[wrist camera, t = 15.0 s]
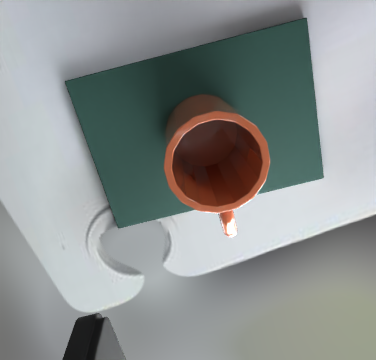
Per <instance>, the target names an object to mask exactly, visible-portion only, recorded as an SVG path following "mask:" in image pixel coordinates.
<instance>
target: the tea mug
mask: <svg viewBox="0 0 376 360" xmlns="http://www.w3.org/2000/svg"><path fill="white" fill-rule="evenodd" d="M269 165H270V156H269V150H268V144H267V141H266V140H265V138H264V137H263V135H262V134H261V132H260V131H259V129H258V128H257V126H256V125H255V124H254V123H253V122H251V121H250V120H249V119H248V118H247V117H245V116H244V115H243V114H242V113H241V112H239V111H238V110H237V109H236V108H235V107H233V106H232V105H231V104H229V103H228V102H226V101H225V100H223V99H221V98H220V97H216V96H213V95H206V94H203V95H195V96H192V97H189V98H187V99H185V100H184V101H182V102H181V103H179V104H178V105H177V106H176V107H175V108H174V110H173V111H172V113H171V114H170V116H169V118H168V120H167V123H166V131H165V144H164V172H165V175H166V179H167V182H168V186H169V188H170V189H171V190H172V191H173V193H174V194H175V195H176V196H177V197H178V199H179V200H180V201H181V202H182V203H184V204H186V205H188V206H190V207H192V208H194V209H195V210H197V211H202V212H211V213H218V215H219V218H220V221H221V225H222V228H223V231H224V234H225V235H226V236H228V237H233V236H235V235H236V233H237V226H236V222H235V217H234V212H233V210H234V209H237V208H239V207H240V206H242V205H243V204H245V203H246V202H248V201H249V200H251V199H252V198H254V197H255V195H256V194H257V192H258V191H259V190H260V188H261V187H262V185H263V184H264V183H265V181H266V178H267V173H268V169H269Z"/></svg>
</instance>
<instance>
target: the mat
mask: <svg viewBox="0 0 376 360" xmlns="http://www.w3.org/2000/svg"><path fill="white" fill-rule="evenodd" d="M65 84H66V86H67V89H68V92H69V95H70V97H71V100H72V103H73V106H74V108H75V111H76V114H77V116H78V119H79V122H80V125H81V127H82V130H83V133H84V136H85V138H86V141H87V144H88V147H89V149H90V152H91V155H92V158H93V160H94V163H95V166H96V169H97V171H98V174H99V177H100V180H101V182H102V185H103V188H104V191H105V193H106V196H107V199H108V202H109V204H110V207H111V210H112V212H113V215H114V218H115V221H116V223H117V226H118V228H123V227H127V226H131V225H135V224H139V223H143V222H147V221H151V220H155V219H159V218H163V217H167V216H171V215H175V214H180V213H184V212H188V211H192V210H195V209H194V208H192V207H190V206H188V205H186V204H184V203H182V202H181V201H180V200H179V199H178V197H177V196H176V195H175V194H174V193H173V191H172V190H171V189H170V188H169V186H168V182H167V179H166V175H165V172H164V144H165V131H166V123H167V120H168V118H169V116H170V114H171V113H172V111H173V110H174V108H175V107H176V106H177V105H178V104H179V103H181V102H182V101H184V100H185V99H187V98H189V97H192V96H195V95H203V94H206V95H213V96H216V97H220V98H221V99H223V100H225V101H226V102H228V103H229V104H231V105H232V106H233V107H235V108H236V109H237V110H238V111H239V112H241V113H242V114H243V115H244V116H245V117H247V118H248V119H249V120H250V121H251V122H253V123H254V124H255V125H256V126H257V128H258V129H259V131H260V132H261V134H262V135H263V137H264V138H265V140H266V141H267V144H268V150H269V156H270V165H269V169H268V173H267V178H266V181H265V183H264V184H263V185H262V187H261V188H260V190H259V191H258V192H257V194H261V193H265V192H269V191H273V190H277V189H281V188H285V187H289V186H293V185H297V184H301V183H306V182H310V181H314V180H318V179H322V178H324V176H323V167H322V157H321V148H320V138H319V129H318V119H317V110H316V100H315V91H314V81H313V72H312V63H311V53H310V44H309V34H308V25H307V18H303V19H299V20H295V21H292V22H288V23H284V24H280V25H276V26H273V27H269V28H265V29H261V30H257V31H254V32H250V33H246V34H242V35H238V36H235V37H231V38H227V39H223V40H219V41H216V42H212V43H208V44H204V45H200V46H197V47H193V48H189V49H185V50H181V51H178V52H174V53H170V54H166V55H162V56H159V57H155V58H151V59H147V60H143V61H140V62H136V63H132V64H128V65H124V66H121V67H117V68H113V69H109V70H105V71H102V72H98V73H94V74H90V75H86V76H83V77H79V78H75V79H71V80H67V81H65ZM257 194H256V195H257Z"/></svg>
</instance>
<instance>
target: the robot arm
mask: <svg viewBox="0 0 376 360" xmlns="http://www.w3.org/2000/svg"><path fill="white" fill-rule="evenodd" d="M63 360H126V358H125V356H124V353H123V351H122V348H121V346H120V344H119V341H118V339H117V337H116V334H115V332H114V330H113V327H112V325H111V322H110V320H109V318H108V317H104V318H102V316H101V314H99V313H97V314H92V315H88V316H84V317H80V318H78V319H77V320H76V322H75V325H74V328H73V331H72V334H71V336H70V340H69V342H68V346H67V348H66V351H65V354H64V357H63Z"/></svg>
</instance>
